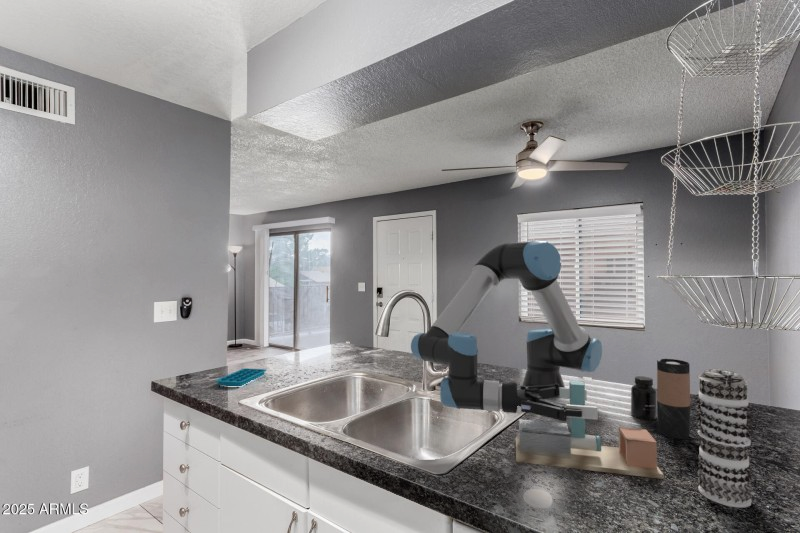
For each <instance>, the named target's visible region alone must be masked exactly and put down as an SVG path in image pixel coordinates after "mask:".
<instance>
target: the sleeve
mask: <svg viewBox="0 0 800 533" xmlns="http://www.w3.org/2000/svg"><path fill="white" fill-rule="evenodd" d="M518 426H519V427H518V429H519V430H518V432H519V433H518V435H519V436H518V437H519V446H520V453H523V454H531V455H540V456H549V457H558V458H567V459H571V434H570V428H569V426H568V424H567V423H566V422H555V421H543V420H534V419H533V420H532V419H522V418H521V419H520V418H519V419H518Z"/></svg>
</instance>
